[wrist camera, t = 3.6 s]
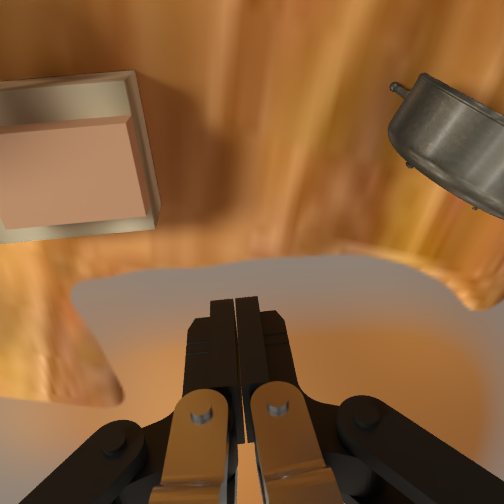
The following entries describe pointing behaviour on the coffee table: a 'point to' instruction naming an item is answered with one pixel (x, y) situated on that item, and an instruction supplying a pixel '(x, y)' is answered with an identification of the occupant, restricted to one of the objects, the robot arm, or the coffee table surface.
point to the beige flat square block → (73, 108)
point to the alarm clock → (451, 142)
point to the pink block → (71, 172)
